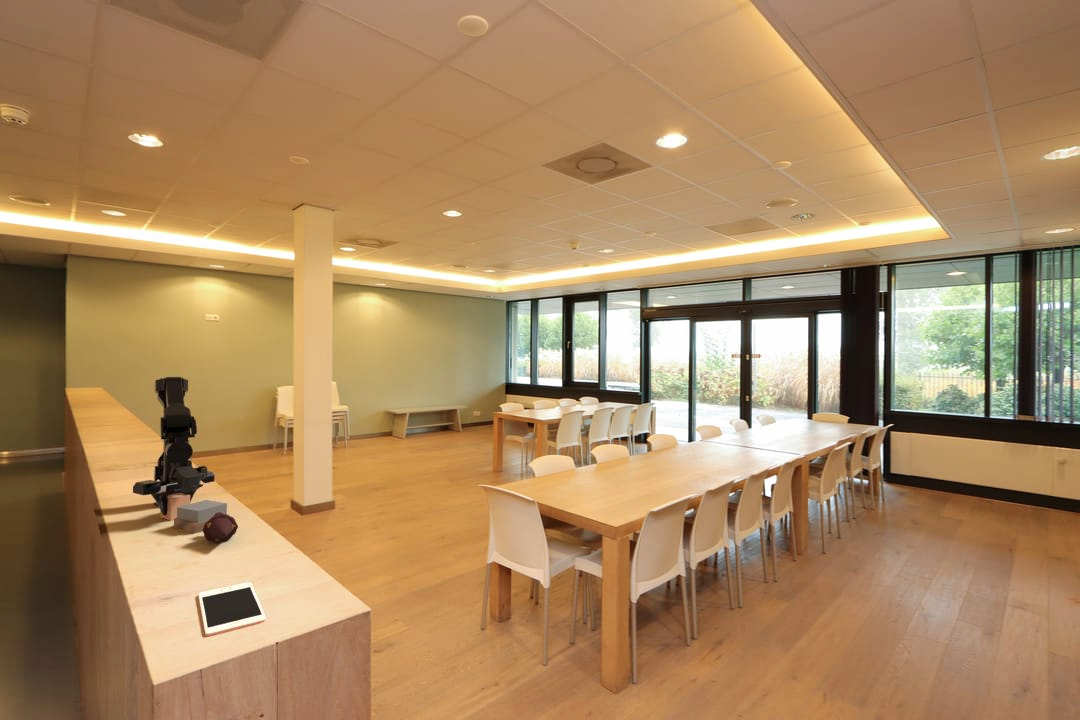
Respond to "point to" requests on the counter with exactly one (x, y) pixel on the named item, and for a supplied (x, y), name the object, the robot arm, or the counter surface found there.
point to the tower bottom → (189, 525)
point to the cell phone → (230, 608)
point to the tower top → (200, 510)
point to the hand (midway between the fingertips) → (175, 512)
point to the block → (175, 504)
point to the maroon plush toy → (220, 528)
